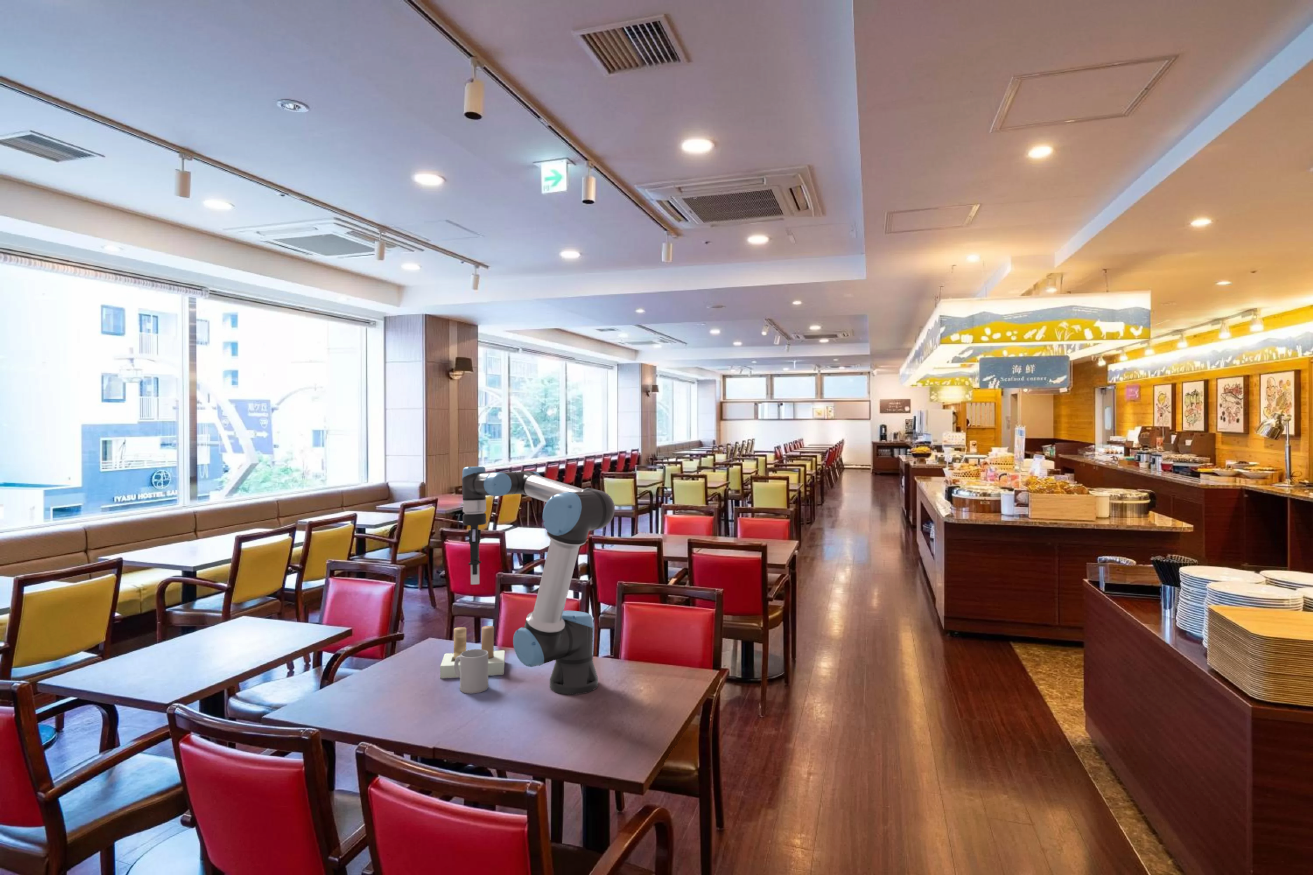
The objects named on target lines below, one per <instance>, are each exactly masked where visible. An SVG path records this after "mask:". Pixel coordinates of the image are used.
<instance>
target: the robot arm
mask: <svg viewBox="0 0 1313 875" xmlns="http://www.w3.org/2000/svg"><path fill="white" fill-rule="evenodd" d="M461 482H462V483H461V484H462V485H461V486H462V487H461V488H462V503H460V506H461V507H462V513H463V515H462V525H463V526H470V529H469V530H468V531H467V536H468V544H469V547H470V548H469V550H470V551H469V552H470V554H469V555H470V557H469V558H470V561H469V562H468V566H470V585H480V564H482V560H480V542H481V535H482V534H481V533H482V530H481V529H479V526H483V525H486V524H487V514H486V513H485V512H487V498H486V497H487V496H489V497H490V496H492V497H501V496H507V495H524V496H527V497H531V498H533V499H536V500H539V501H542V502H545V505H544V506H543V507H544V508H543V510H542V511H543V512H542V520H543V521H544V522H543V526H544V528H545V531H546V535H547V537H548V538H549V539H550V541H549V545H548V549H547V554H546V558H545V562H544V565H543V570H542V575H541V578H540V582H539V586H538V591H537V596H536V599H535V603H534V607H533V611H531V612H529V613H528V614H527V615H526V619H525V622H524V623H525V624H524V627H523V626H522V627H519V628H518V629H516V630H515V632H514V634H513V639H512V644H513V649H514V652H515V654H516V657H517V658H518V660H519V662H521V664H523V665H524V666H526V667H529V668H533V667H538V666H542V665H544V664H547V663H550V662H553V661H554V662H555V663H554V665H553V668H552V672H551V674H550V678H549V688H550V690H551V691H552V692H554V693H558V694H562V695H581V694H586V693H590V692H593V691H594V690H596V689H597V688H598V686H599V677H598V673H597V670H596V667H595V664H594V661H593V658H594V655H593V653H594V650H593V649H594V620H593V616H592V615H591V614H590V613H588V612H585V611H584V612H583V611H577V610H565V607H566V602H567V598H568V594H569V589H570V586H571V582H572V578H573V574H574V569H575V567H576V561H577V559H578V554H579V550H580V546H583V545H585V544H586V542H587V541H588V540H587V539H588V537H589V532H590V531H596V530H600V529H603V528H605V527H606V526H608V525H609V523H611V522H612V520H613V518H614V515H615V503H614V500H613V498H612V496H610V495H609V493H606V492H605V491H603V490H598V489H595V488H592V487H586V488H580V487H577V486H574V485H572V484H571V485H570V484H569V483H564V482H561V481H558V480H554V479H551V478H548V477H543V476H542V475H541V474H539V472H537V471H535V470H534V471H531V470H525V471H523V470H521V471H499V472H497V471H494V472H486V467H484V466H465V467H463V468H462V476H461Z"/></svg>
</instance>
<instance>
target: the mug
mask: <svg viewBox="0 0 1313 875" xmlns="http://www.w3.org/2000/svg"><path fill="white" fill-rule="evenodd" d="M459 660H460V671H459V668H458V663H459ZM454 670H455V674H456V675H457V676H458V677H457V678H459V690H460V692H461V693H463V694H479V693H482V692H485V691H486V690H488V688H489V676H488V651H486V650H482V649H481V648H475V649H466V651H464V652H462V653H461V654H460V656H457V657H456V659H455V663H454Z"/></svg>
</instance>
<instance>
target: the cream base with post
mask: <svg viewBox="0 0 1313 875" xmlns="http://www.w3.org/2000/svg"><path fill="white" fill-rule="evenodd" d="M494 634H495V627H494V625H484V626H482V627H481V644H480V645H481V647H480V649H482V650H486V651H488V677H489V676H502V675H504V673H505V660H506V659H505V658H506V654H505V653H506V652H505V650H494V648H495V647H494V645H495V644H494V643H495V641H494V640H495V639H494V638H495V636H494ZM454 663H455V661H454V652H453V653H452V652H450V653H448V652H447V653H444V655H443V658H442V660H441V663H440V666H439V668H440V669H439V679H454V678H455V679H456V678H459V677H458V676H457V675H456V674H455V670H454ZM458 668H459V671H460V661H459V663H458Z"/></svg>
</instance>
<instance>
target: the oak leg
mask: <svg viewBox="0 0 1313 875" xmlns="http://www.w3.org/2000/svg"><path fill="white" fill-rule="evenodd" d="M464 651H467V627H465V626H463V627H462V626H461V627H459V626H458V627H455V628H454V629H453V653H454V661H455V659H456V657H457V656H460V654H461V653H462V652H464ZM459 661H460V660H459Z"/></svg>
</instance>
